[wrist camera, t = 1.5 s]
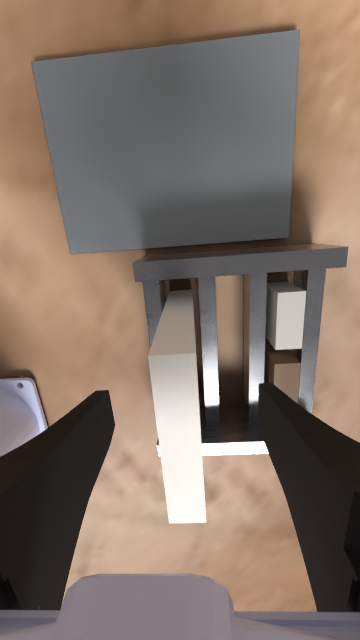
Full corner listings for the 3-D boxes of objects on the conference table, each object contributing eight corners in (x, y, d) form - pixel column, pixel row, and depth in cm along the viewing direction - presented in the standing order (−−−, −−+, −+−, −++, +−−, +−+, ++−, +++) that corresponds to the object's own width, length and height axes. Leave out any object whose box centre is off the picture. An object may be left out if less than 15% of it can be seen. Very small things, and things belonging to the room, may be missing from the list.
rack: (163, 417, 22) (158, 457, 18) (145, 256, 17) (132, 262, 14) (298, 411, 21) (323, 451, 17) (312, 243, 17) (348, 246, 13)
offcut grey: (262, 332, 19) (275, 349, 16) (263, 283, 18) (277, 293, 15) (285, 330, 19) (301, 348, 16) (287, 281, 18) (306, 290, 15)
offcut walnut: (261, 386, 20) (272, 412, 18) (262, 344, 19) (274, 364, 17) (282, 386, 20) (296, 411, 18) (284, 343, 19) (300, 363, 16)
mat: (73, 253, 18) (70, 254, 17) (36, 67, 14) (31, 61, 14) (286, 237, 17) (288, 237, 16) (296, 36, 14) (300, 29, 13)
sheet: (178, 390, 21) (169, 523, 11) (169, 291, 18) (148, 356, 9) (198, 389, 21) (206, 522, 11) (192, 289, 18) (195, 353, 9)
